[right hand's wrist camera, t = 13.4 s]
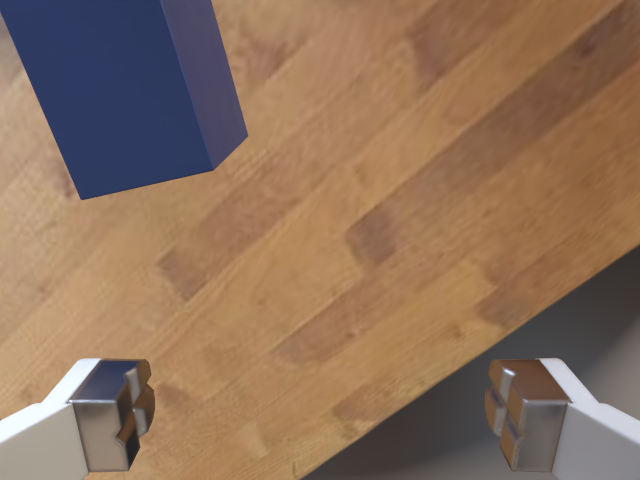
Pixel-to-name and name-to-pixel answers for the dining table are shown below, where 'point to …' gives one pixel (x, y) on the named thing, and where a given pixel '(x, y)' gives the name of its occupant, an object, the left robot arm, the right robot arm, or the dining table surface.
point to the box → (129, 87)
